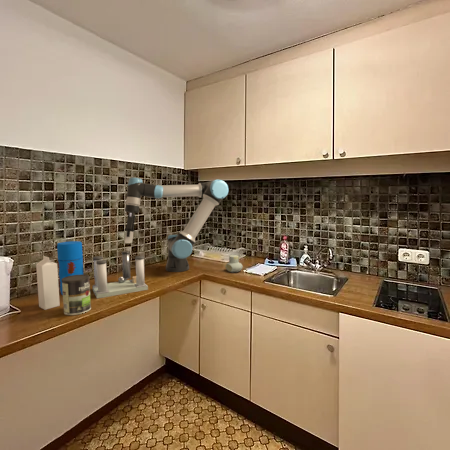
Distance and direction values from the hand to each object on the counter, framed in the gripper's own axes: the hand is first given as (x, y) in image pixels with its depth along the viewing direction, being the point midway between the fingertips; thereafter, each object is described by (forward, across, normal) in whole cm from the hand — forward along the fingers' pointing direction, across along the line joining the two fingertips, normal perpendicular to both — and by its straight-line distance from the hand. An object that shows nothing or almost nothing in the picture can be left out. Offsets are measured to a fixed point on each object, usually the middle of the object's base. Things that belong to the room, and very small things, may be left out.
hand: (128, 242), depth 160 cm
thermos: (+27, +10, -23) cm, 37 cm away
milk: (+30, +28, -27) cm, 49 cm away
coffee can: (+29, +36, -14) cm, 49 cm away
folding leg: (+20, +3, 0) cm, 20 cm away
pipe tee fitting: (+13, -8, +65) cm, 66 cm away
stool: (+24, +12, -1) cm, 27 cm away
